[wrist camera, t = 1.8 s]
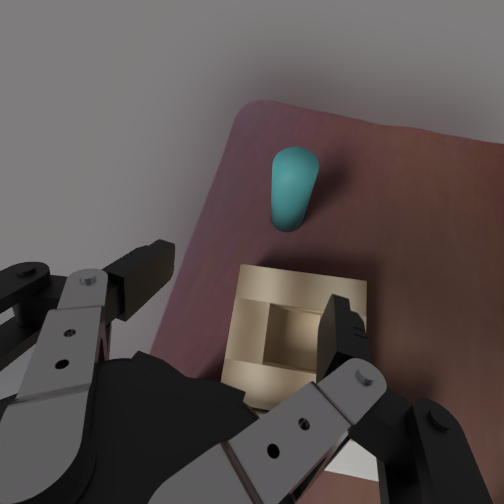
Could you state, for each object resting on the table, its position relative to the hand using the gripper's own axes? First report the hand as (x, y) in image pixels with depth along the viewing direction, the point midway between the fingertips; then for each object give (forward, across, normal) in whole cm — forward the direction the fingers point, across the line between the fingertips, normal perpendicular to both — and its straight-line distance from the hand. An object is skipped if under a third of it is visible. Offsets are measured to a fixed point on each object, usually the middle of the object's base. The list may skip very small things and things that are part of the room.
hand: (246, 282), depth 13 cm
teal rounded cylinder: (+20, 0, +3) cm, 20 cm away
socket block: (+11, -4, +13) cm, 17 cm away
